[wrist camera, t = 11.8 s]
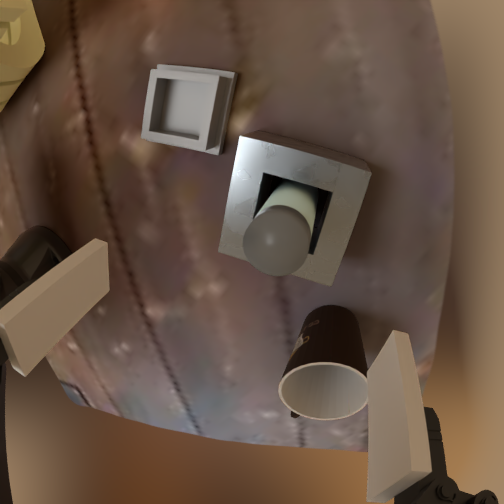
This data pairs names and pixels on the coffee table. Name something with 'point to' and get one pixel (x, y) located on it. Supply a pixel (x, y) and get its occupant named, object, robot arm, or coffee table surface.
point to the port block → (304, 171)
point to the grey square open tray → (188, 107)
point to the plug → (282, 229)
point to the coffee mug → (326, 367)
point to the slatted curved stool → (17, 45)
